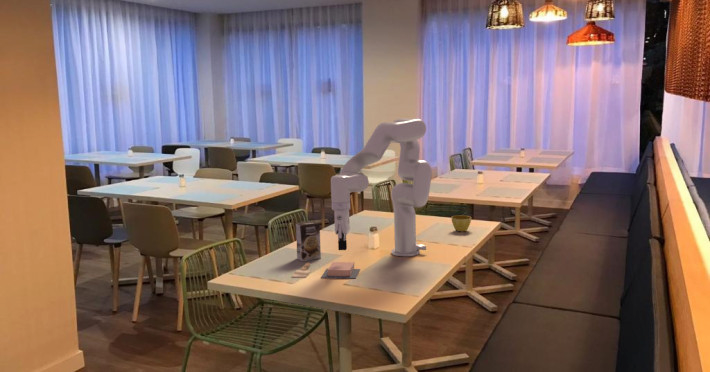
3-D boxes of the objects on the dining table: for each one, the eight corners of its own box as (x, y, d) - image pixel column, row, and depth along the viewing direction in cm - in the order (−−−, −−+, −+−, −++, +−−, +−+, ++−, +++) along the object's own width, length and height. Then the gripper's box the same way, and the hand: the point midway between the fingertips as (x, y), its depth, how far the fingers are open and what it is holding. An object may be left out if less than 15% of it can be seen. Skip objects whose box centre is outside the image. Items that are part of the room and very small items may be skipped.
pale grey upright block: (354, 262, 246) (350, 270, 236) (354, 268, 247) (350, 276, 236) (332, 262, 248) (327, 269, 237) (332, 268, 248) (327, 276, 237)
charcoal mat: (360, 269, 246) (360, 269, 246) (355, 278, 234) (355, 277, 234) (326, 269, 248) (326, 268, 248) (320, 278, 236) (320, 277, 236)
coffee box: (302, 261, 260) (300, 225, 258) (296, 258, 266) (295, 222, 263) (321, 258, 264) (320, 222, 262) (315, 255, 270) (314, 220, 267)
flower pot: (474, 229, 309) (474, 216, 308) (466, 234, 301) (466, 220, 300) (456, 228, 315) (456, 214, 313) (448, 232, 306) (448, 218, 305)
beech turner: (301, 265, 255) (301, 262, 255) (315, 265, 254) (315, 262, 254) (291, 277, 238) (291, 275, 238) (306, 277, 237) (306, 275, 237)
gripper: (347, 209, 234) (349, 254, 237) (352, 202, 249) (354, 245, 252) (328, 209, 236) (330, 254, 238) (335, 202, 250) (336, 245, 253)
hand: (342, 249), depth 245 cm, fingers closed
